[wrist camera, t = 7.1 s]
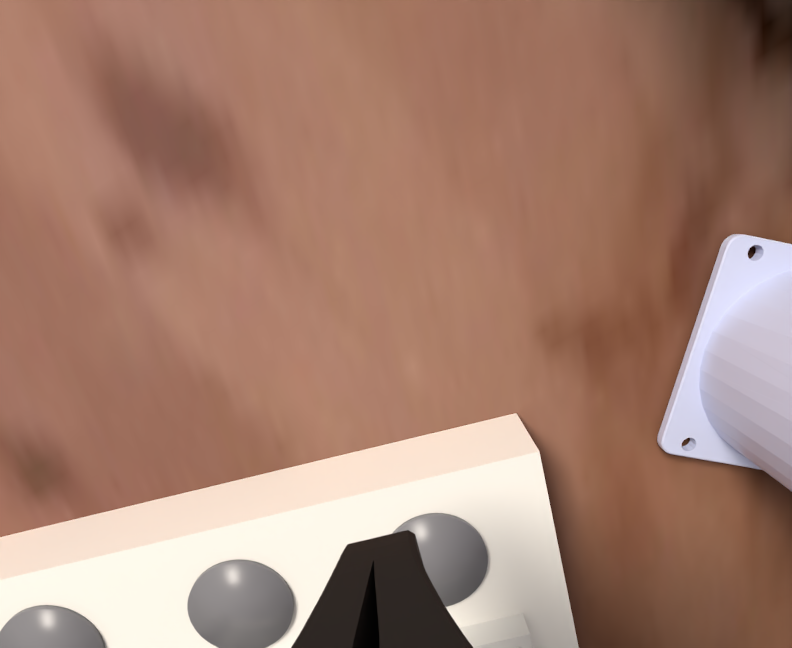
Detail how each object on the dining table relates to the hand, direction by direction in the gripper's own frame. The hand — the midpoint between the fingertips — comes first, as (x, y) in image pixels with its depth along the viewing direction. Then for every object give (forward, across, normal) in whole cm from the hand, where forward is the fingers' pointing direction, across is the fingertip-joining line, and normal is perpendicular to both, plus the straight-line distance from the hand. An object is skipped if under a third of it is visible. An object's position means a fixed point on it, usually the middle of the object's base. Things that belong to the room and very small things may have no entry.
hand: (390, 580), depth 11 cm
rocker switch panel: (+9, +6, +8) cm, 14 cm away
